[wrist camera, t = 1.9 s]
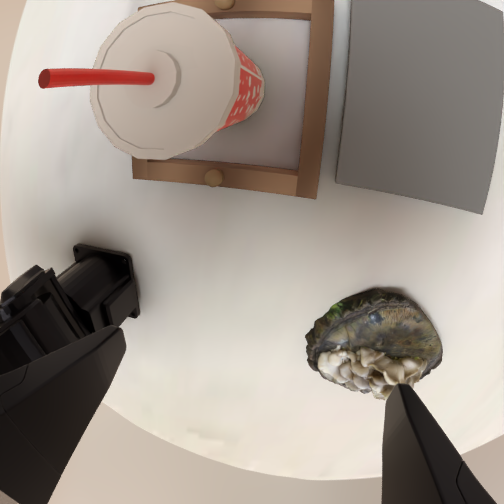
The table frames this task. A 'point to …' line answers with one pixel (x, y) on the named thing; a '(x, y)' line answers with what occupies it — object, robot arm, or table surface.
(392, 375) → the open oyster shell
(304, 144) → the socket collar
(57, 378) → the robot arm
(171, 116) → the beverage cup
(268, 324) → the table surface
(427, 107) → the rubber mat
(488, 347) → the table surface
